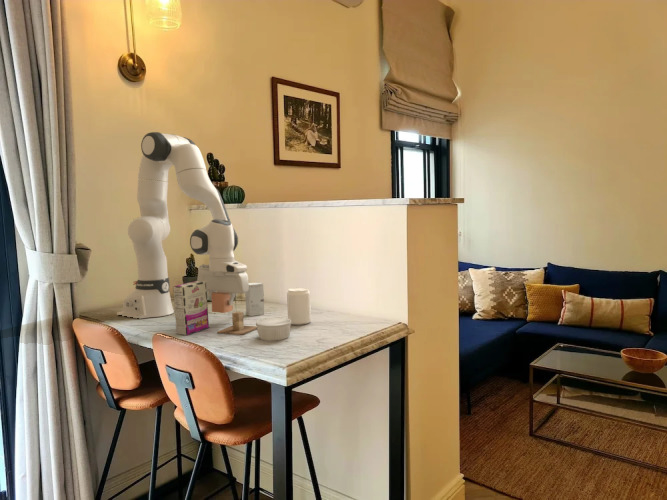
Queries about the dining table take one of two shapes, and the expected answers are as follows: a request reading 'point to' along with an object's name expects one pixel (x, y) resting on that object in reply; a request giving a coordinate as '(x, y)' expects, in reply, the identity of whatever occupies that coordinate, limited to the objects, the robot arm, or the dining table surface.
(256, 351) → the dining table surface
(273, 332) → the ramekin
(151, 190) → the robot arm
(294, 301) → the beverage can
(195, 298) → the candy bar box
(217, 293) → the salmon orange rectangular block
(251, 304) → the skincare box
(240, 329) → the base plate with peg
